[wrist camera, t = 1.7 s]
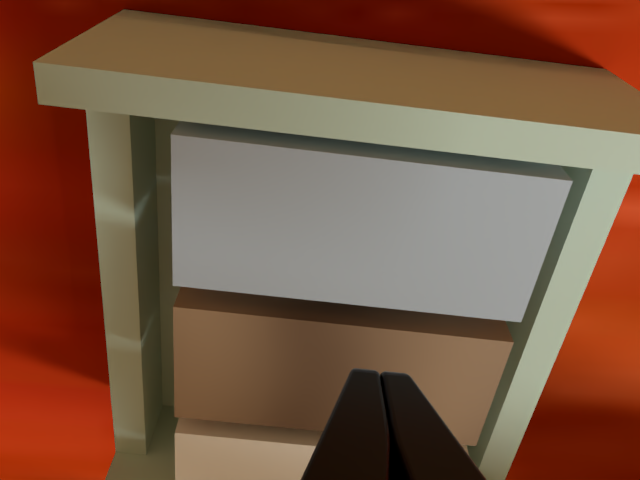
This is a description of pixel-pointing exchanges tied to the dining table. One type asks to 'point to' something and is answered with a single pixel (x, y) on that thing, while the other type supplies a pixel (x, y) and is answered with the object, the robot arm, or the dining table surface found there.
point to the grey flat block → (359, 221)
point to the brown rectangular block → (326, 358)
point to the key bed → (336, 123)
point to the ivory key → (242, 451)
